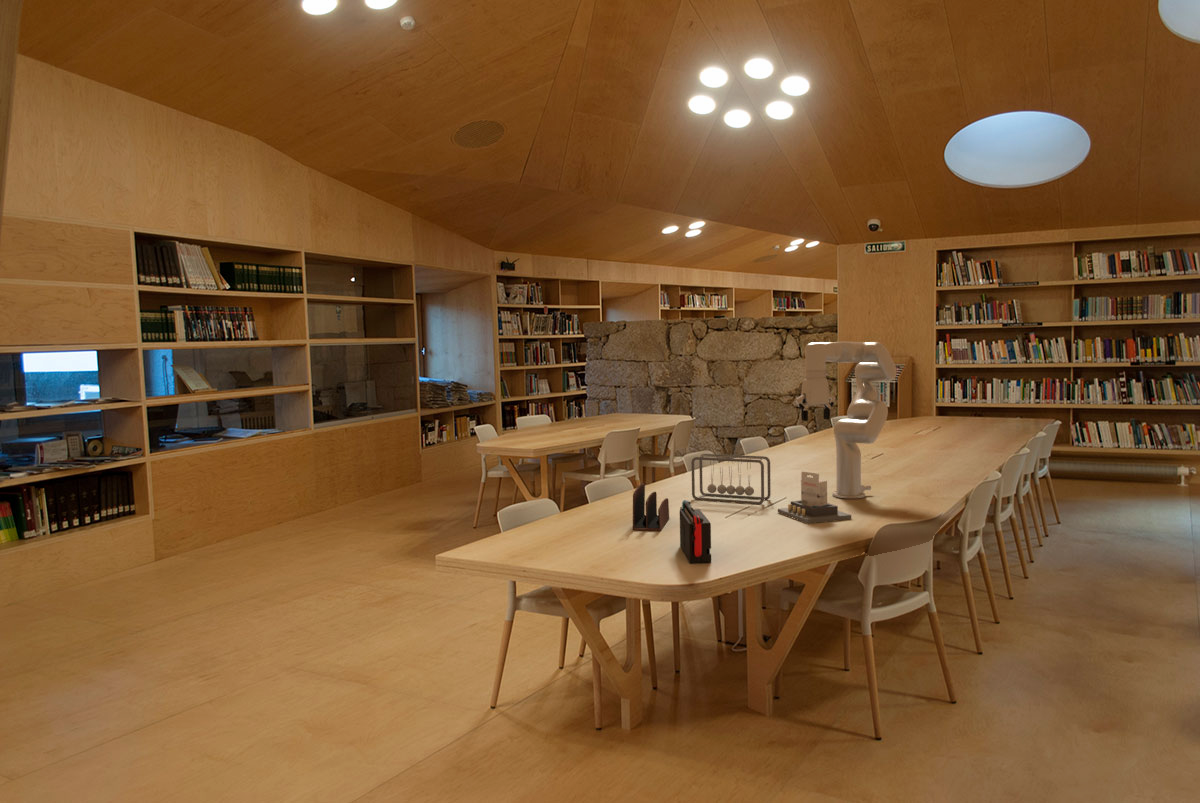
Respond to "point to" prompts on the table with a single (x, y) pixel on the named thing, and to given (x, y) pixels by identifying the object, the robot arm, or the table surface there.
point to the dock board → (813, 512)
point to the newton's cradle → (730, 488)
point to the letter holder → (648, 511)
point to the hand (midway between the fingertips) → (815, 419)
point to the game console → (694, 534)
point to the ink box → (813, 490)
